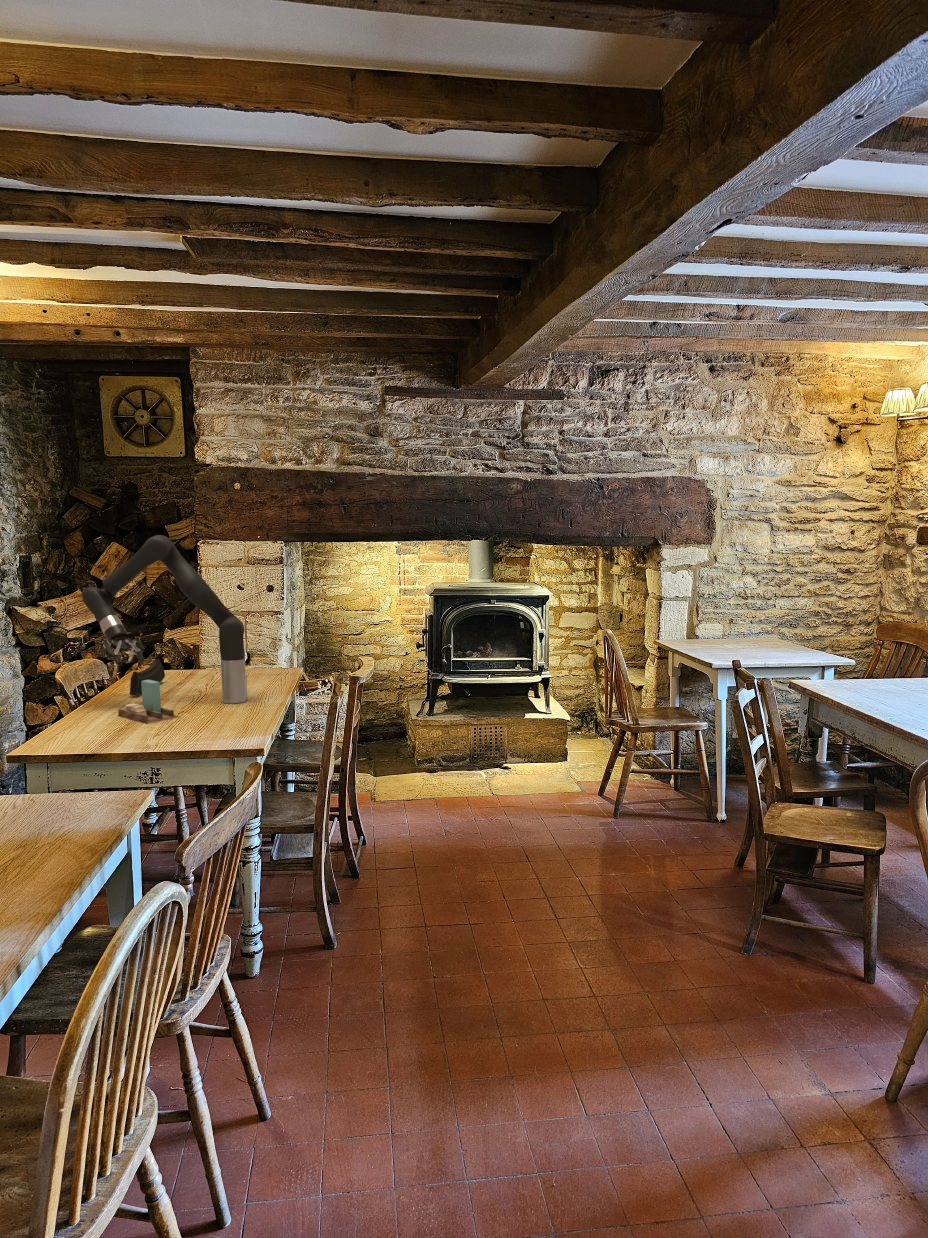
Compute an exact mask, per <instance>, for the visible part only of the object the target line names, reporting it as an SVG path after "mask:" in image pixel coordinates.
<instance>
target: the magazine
mask: <svg viewBox="0 0 928 1238" xmlns="http://www.w3.org/2000/svg"><path fill="white" fill-rule="evenodd" d="M165 677H166V674H165V668H164V665H163V663H161V660H160V659H159V658H158V659H155V660H154V661H153V662H152V664H150V666H149V667H147V668H145V669H143V670H141V671H133V672H132V675H131V677H130V685H129V686H130V687H129V695H130V696H139V695H142V685H141V681H144V680H153V681H157V682H160V683H161V682H162V681H163V680H164V678H165Z"/></svg>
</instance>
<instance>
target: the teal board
mask: <svg viewBox="0 0 928 1238" xmlns="http://www.w3.org/2000/svg"><path fill="white" fill-rule="evenodd" d="M141 685H142V694H141V700H142V704H141V705H142V706H144V708H145V709H149V710H153V711H157V712H161V707H162V705H161V688H160V687H161V686H160V685H161V682H157V681H153V680H144V681H141Z"/></svg>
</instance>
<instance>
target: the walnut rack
mask: <svg viewBox="0 0 928 1238" xmlns="http://www.w3.org/2000/svg"><path fill="white" fill-rule="evenodd" d="M144 710H146V714H147V716H144V715H141V714H137V713H133V712H130V711H126V709H121V708H118V709H117V712H118V713H117V715H116V716H117V717H121V718H123V719H124V718H125V719H128V720H132V721H135V722H138V723H142V724H145V725H150V724H151V725H152V724H155V723H159V722H163V721H168V720H173V719H177V718H181V716H179V715H176V714H175V713H174V711H175V710H173V709H169V708H165V707H162V706H161V712H157V711H153V710H149V709H145V708H144Z"/></svg>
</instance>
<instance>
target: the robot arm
mask: <svg viewBox="0 0 928 1238" xmlns="http://www.w3.org/2000/svg"><path fill="white" fill-rule="evenodd" d="M159 561H160V562H161V563H162V564H163V565H164V566H165V567H166V568H167V569H168V570H169V572H170V573H171V574H172V576H173V578H174V580H175V582H176V584H177V585H178V587H179V589H180V591H181V592H182V593H183V594H184V596H185V597H186V598H187V599H188V600H189V601H190V602H191V603H192V604H193V605H194V606H195V607H197V608H198V609H199V610H200V611H202V612H203V613H204V614H205V615H207V616H208V617H209V618H210V619H211V620H212V621H213V622H214V624H215V625H216V627H217V628H218V642H219V643H218V644H219V653H220V667H221V669H220V671H221V692H222V693H221V696H222V697H221V698H222V703H225V704H239V703H246V702H247V700H248V680H247V679H248V678H247V675H246V654H245V644H244V643H245V641H244V634H245V632H246V631H245V625H244V623H243V622H242V621H241V620H240V618H238V617H237V616H236V615H235V614H234V613H233V612H232V611H230V610H229V608H227V607H226V605H224V603H223V602H222V601H221V599H220V598H219V597H218V595H217V594H216V592H215V591H214V590H213V589H212V587H211V586H210V585H209V584H208V582H206V581H205V579H204V578H203V577H202V576H201V575H200V574H199V573H198V571H196V569H194V567H192V566H191V565H190V563H188V562H187V560H186V559H185V558H184V557H183V556H182V555H181V553H180V551H179V550H178V549H177V547H176V546H175V545H174V542H172V540H171V539H170V538H168V537H167V536H166V535H163V534H157V535H153V536H151V537H148V539H147V540H145V542H144V543H143V545H142V546H141V547H139V549H138V550H137V551H136V553H135V554H133V555H132V556H131V557H130V558H129V559H128V560H126V561H125V562H124V563H123V564H121V565H120V566H118V567H117V568H116V569H115V570H113V571H112V572H111V573H109V575H107V576H106V577H105V578H103V579H102V585H103V588H98V587H95V586H89V587H86V588H84V589H83V591H82V594H81V597H82V598H81V599H82V601H83V603H84V605H85V606H86V608H88V610H89V611H90V612H91V613H92V615H94V616H95V618H96V621H97V622H98V625H100V629H101V631H102V633H103V635H104V637H105V639H106V641H104V643H103V645H102V649H103V652H104V654H105V655H106V658H107V659H110V658H112V659H113V660H114V662H115V663H116V665H117V666H118V667H121V666H122V665H123V660H122V658H121V656H120V655H119V653H124V652H125V653H126V652H129V653H130V654H133V655H136V656H135V657H136V658H137V660H138V661H139V663H143V662H144V660H145V657H144V654H143V653H144V651H145V647H144V645H143V643H142V642H141V640H140V638H139V637H135V639H131V638H130V636H129V633H128V631H127V630H126V628H125V626H124V624H123V623H122V621H121V618H119V616H118V615H117V612H116V611H115V610H114V608H113V606H111V605H110V604H111V603H112V601H113V599H114V598H115V597H116V596H117V594H118V593H119V592H120V591H121V590H122V589H123V588H125V587H126V586H127V585H129V584H130V583H131V582H132V581H133V580H134V579H135V578H136V577H137V576H138V575H139V574H140V573H141V572H143V570H145V569H146V568H148V567H149V566H151V565H152V564H155V563H156V562H159ZM111 648H112V649H113V651H112V649H111Z"/></svg>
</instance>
